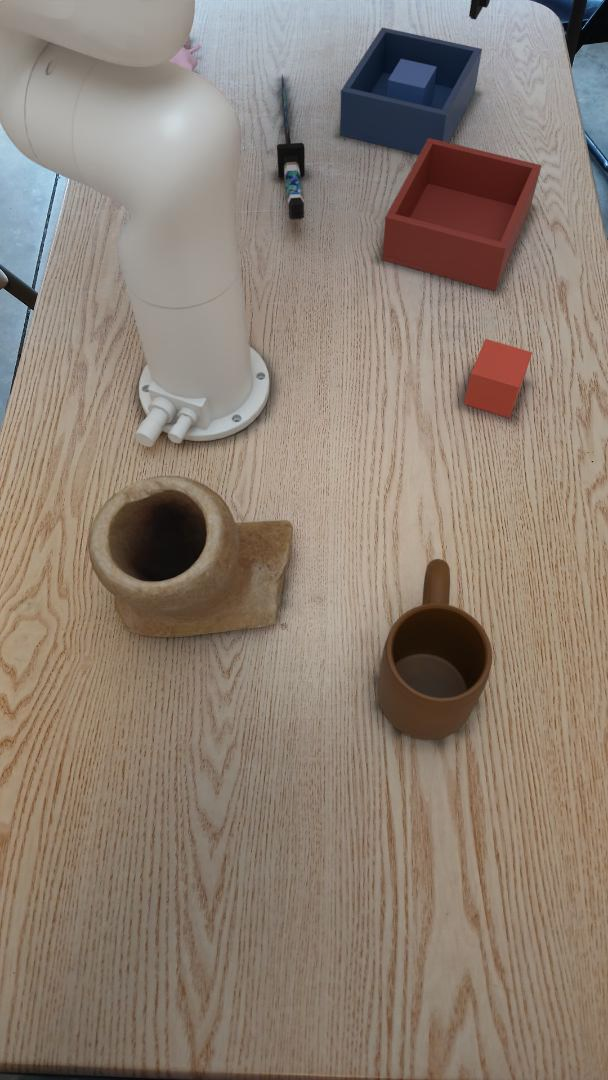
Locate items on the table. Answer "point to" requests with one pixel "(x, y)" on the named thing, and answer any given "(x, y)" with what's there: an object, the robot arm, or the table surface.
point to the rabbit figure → (186, 56)
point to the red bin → (460, 213)
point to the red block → (497, 378)
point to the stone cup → (187, 560)
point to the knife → (291, 168)
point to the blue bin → (399, 120)
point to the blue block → (412, 82)
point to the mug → (433, 663)
